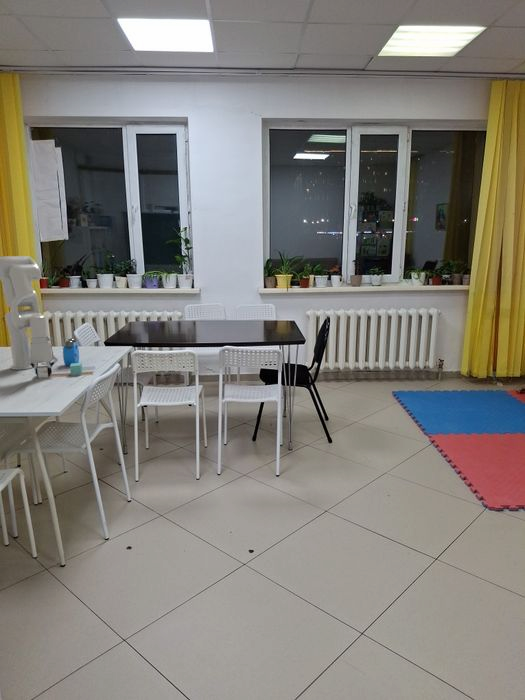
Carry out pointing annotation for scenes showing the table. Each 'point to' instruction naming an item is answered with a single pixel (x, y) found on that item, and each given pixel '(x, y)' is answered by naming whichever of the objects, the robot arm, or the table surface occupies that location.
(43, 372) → the walnut strip
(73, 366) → the teal cube
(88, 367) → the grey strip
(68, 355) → the alarm clock
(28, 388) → the table surface
